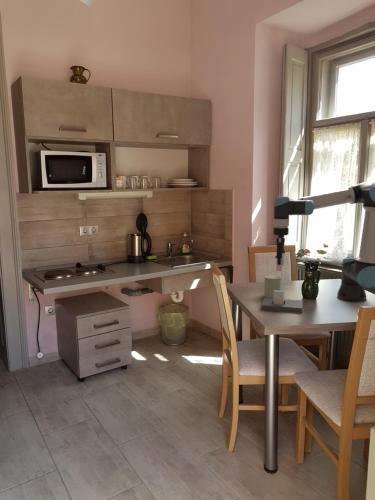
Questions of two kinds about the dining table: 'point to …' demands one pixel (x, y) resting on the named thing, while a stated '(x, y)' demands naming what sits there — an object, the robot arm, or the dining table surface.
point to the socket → (287, 307)
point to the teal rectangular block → (278, 297)
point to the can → (271, 285)
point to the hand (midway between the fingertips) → (279, 268)
